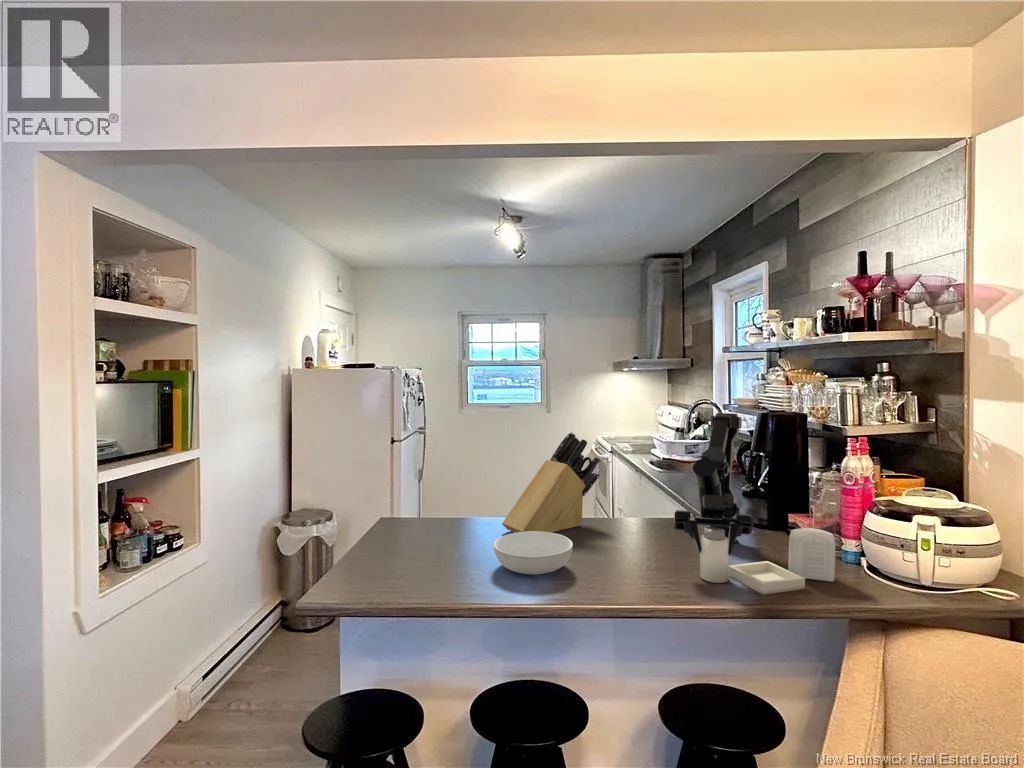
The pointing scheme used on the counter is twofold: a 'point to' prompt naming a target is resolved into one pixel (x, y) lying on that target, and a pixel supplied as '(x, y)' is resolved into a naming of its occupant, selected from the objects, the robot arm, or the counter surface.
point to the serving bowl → (533, 551)
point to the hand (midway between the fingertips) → (714, 553)
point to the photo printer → (812, 554)
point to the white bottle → (714, 555)
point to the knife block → (555, 491)
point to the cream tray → (766, 577)
